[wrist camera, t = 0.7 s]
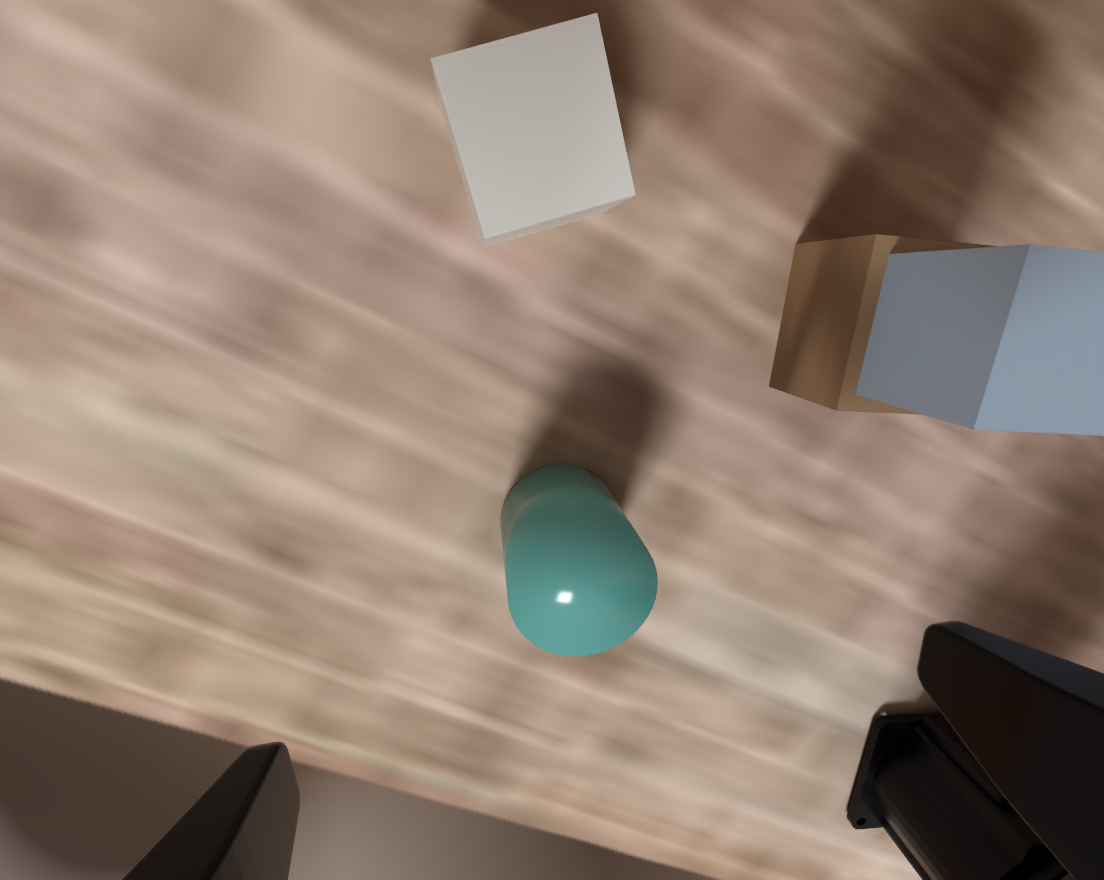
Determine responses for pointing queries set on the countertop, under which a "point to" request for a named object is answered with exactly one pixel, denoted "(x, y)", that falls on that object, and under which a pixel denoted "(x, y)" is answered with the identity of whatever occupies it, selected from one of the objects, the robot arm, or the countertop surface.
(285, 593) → the countertop surface
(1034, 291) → the tower top
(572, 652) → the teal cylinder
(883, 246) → the tower base
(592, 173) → the cube
